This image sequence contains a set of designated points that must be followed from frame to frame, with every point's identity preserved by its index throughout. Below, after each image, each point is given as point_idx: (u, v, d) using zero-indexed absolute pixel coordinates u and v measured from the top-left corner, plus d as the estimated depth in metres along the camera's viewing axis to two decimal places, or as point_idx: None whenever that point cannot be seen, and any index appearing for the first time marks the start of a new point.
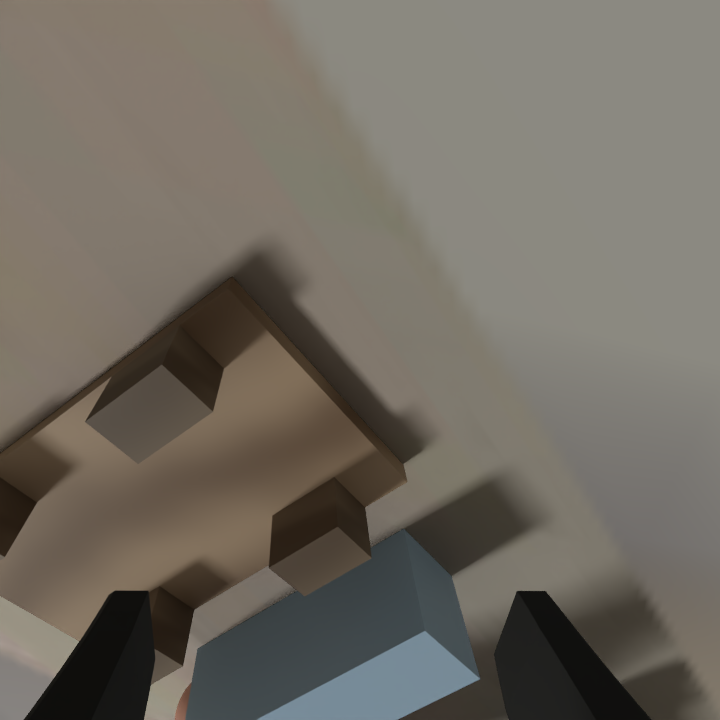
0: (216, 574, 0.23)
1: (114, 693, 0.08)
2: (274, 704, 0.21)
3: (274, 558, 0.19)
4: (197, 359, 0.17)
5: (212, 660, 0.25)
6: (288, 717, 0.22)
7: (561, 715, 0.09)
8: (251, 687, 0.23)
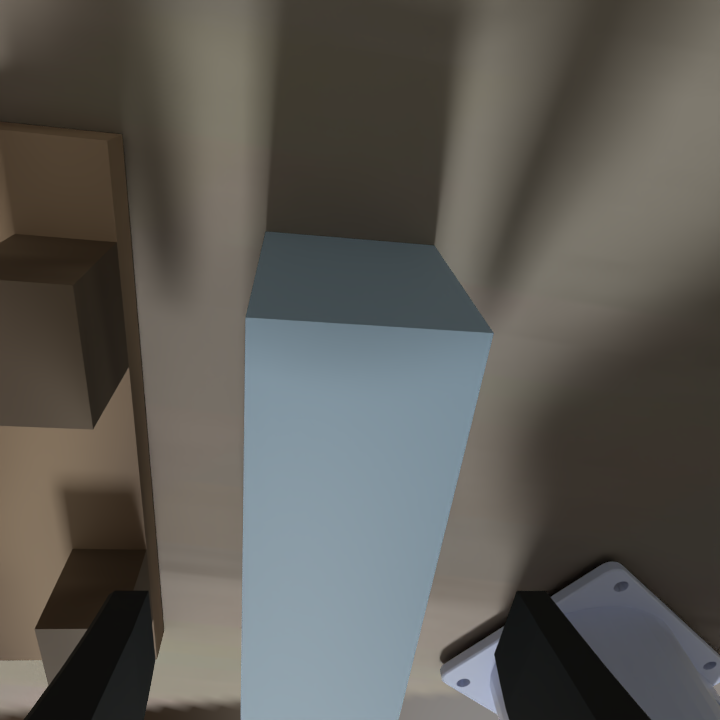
0: (102, 490, 0.15)
1: (113, 693, 0.08)
2: (242, 604, 0.12)
3: None
4: None
5: None
6: (277, 611, 0.12)
7: (561, 715, 0.09)
8: None
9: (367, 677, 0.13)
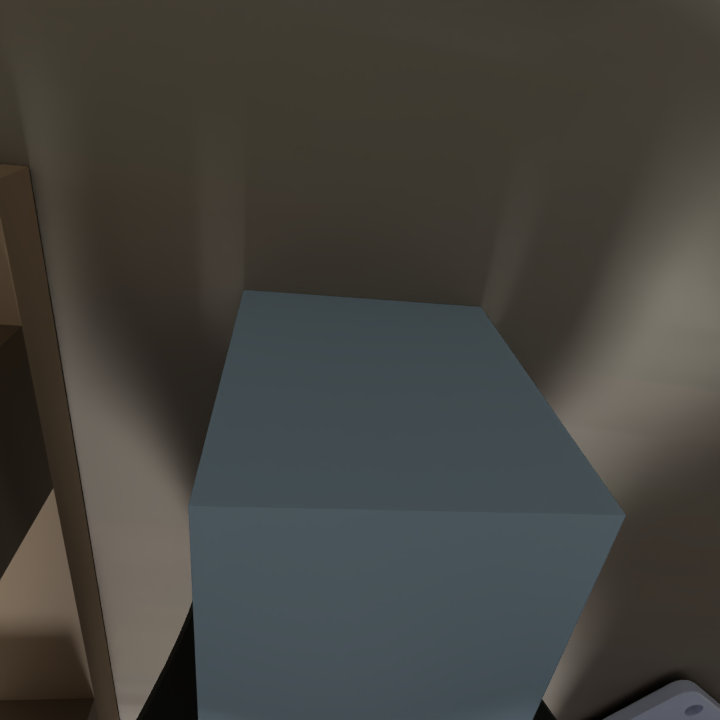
0: (29, 634, 0.11)
1: None
2: None
3: None
4: None
5: None
6: None
7: None
8: None
9: None
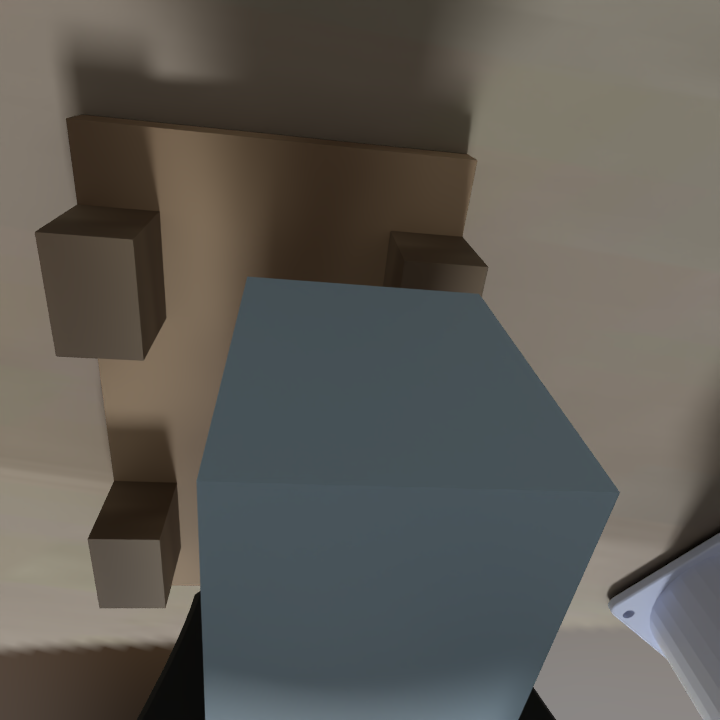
0: None
1: None
2: None
3: None
4: (107, 216, 0.13)
5: None
6: None
7: None
8: None
9: None
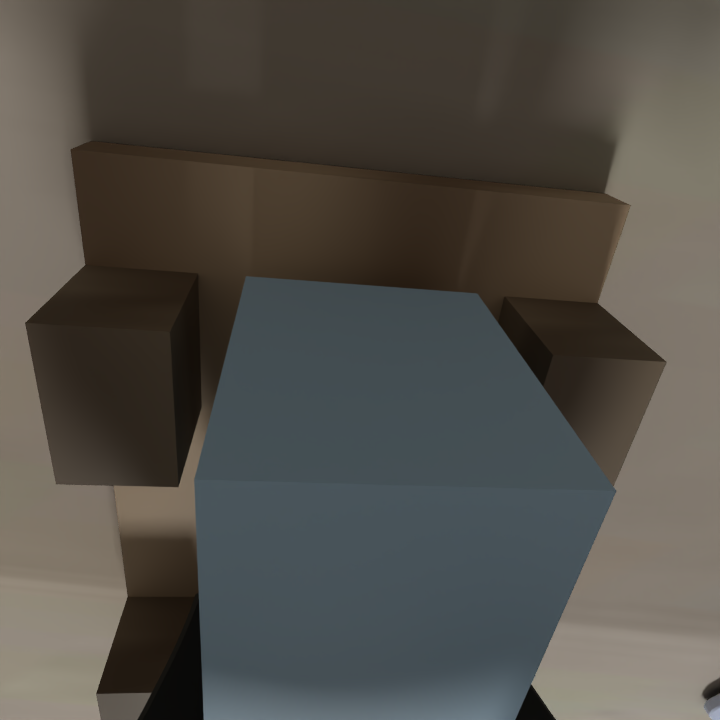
0: None
1: None
2: None
3: None
4: (128, 285, 0.10)
5: None
6: None
7: None
8: None
9: None
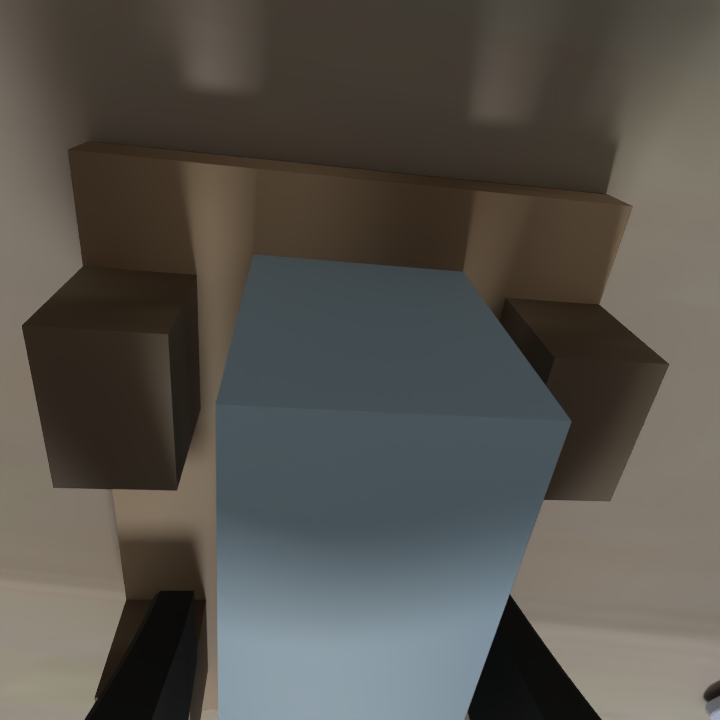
0: None
1: (168, 692, 0.09)
2: None
3: None
4: (126, 287, 0.09)
5: None
6: None
7: (515, 716, 0.09)
8: None
9: None
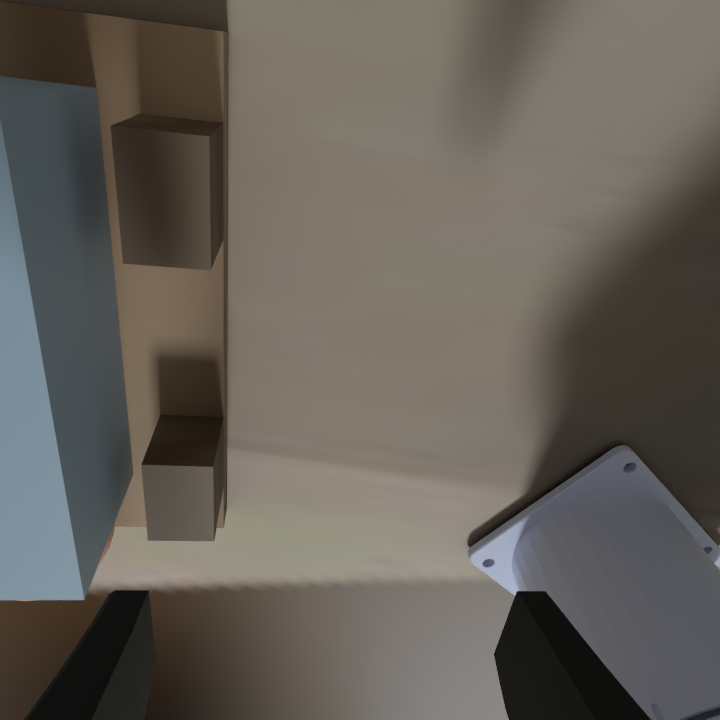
0: (191, 357, 0.17)
1: (114, 693, 0.08)
2: None
3: None
4: None
5: None
6: None
7: (561, 715, 0.09)
8: None
9: (25, 523, 0.13)
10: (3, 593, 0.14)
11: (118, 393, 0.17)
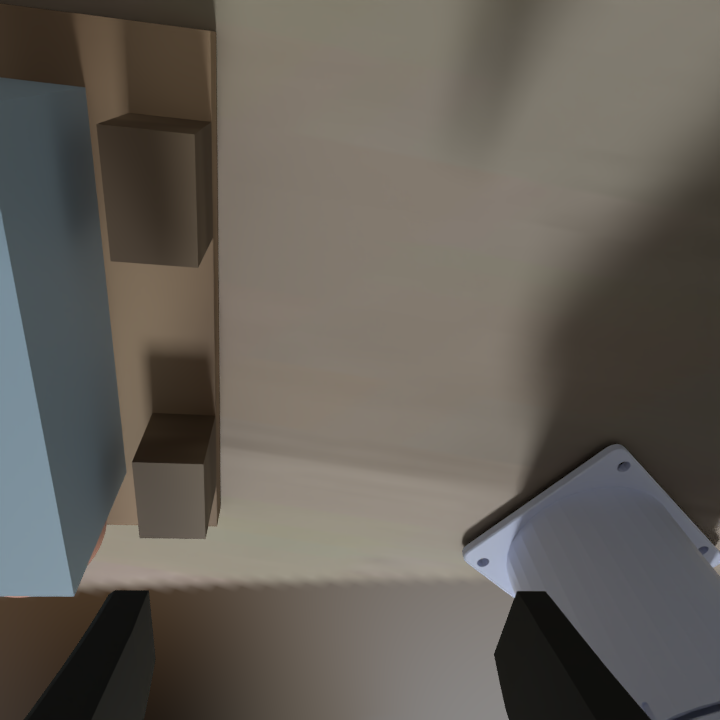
0: (182, 355, 0.17)
1: (114, 693, 0.08)
2: None
3: None
4: None
5: None
6: None
7: (561, 715, 0.09)
8: None
9: (14, 519, 0.13)
10: None
11: (110, 391, 0.17)
